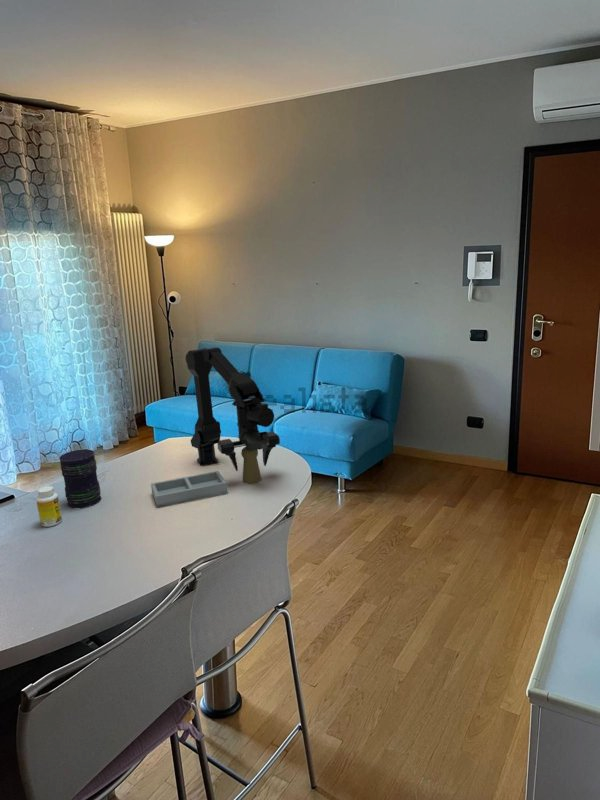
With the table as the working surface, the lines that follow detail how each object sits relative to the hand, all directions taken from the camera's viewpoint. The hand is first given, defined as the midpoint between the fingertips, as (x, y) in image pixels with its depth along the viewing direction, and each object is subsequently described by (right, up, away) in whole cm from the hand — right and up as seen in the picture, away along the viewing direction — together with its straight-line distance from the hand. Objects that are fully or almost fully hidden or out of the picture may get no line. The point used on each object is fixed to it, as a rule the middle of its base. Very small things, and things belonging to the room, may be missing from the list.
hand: (250, 468), depth 183 cm
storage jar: (-50, -9, -8) cm, 51 cm away
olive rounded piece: (0, -4, +1) cm, 4 cm away
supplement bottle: (-54, -13, -21) cm, 59 cm away
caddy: (-18, -7, -7) cm, 20 cm away
